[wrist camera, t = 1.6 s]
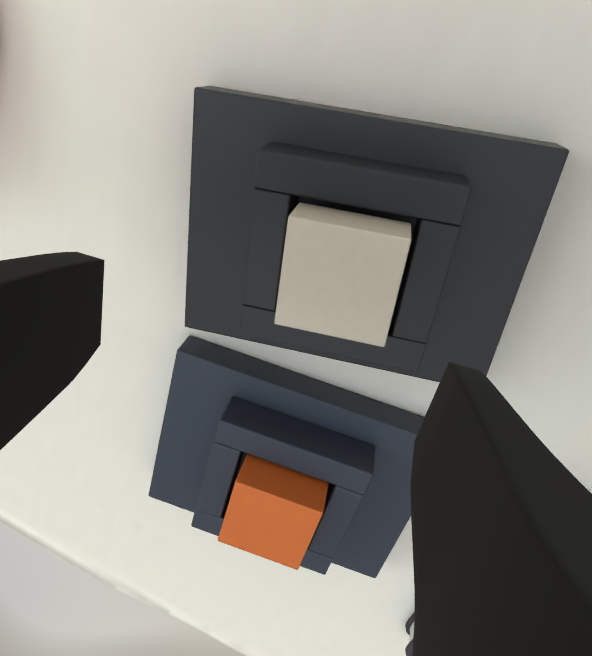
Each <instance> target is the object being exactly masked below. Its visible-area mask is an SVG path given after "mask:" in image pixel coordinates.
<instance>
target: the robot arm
mask: <svg viewBox="0 0 592 656" xmlns="http://www.w3.org/2000/svg"><path fill="white" fill-rule="evenodd" d="M103 278H104V260H102V259H99V258H95V257H92V256H89V255H85V254H82V253H78V252H61V253H51V254H42V255H35V256H28V257H22V258H15V259H9V260H2V261H0V450H1V449H2V448H3V447H4V446H5V445H6V444H7V443H8V442H9V441H10V440H11V439H12V438H14V437H15V436H16V435H17V434H18V433H19V432H20V431H21V430H22V429H23V428H24V427H25V426H26V425H27V424H28V423H29V422H30V421H31V420H32V419H33V418H34V417H36V416H37V415H38V414H39V413H40V412H41V411H42V410H43V409H44V408H45V407H46V406H47V405H48V404H49V403H50V402H51V401H52V400H53V399H54V398H55V397H56V396H57V395H58V394H59V393H60V392H61V391H63V390H64V389H65V388H66V387H67V386H68V385H69V384H70V383H71V382H72V381H73V380H74V378H75V377H76V376H77V375H78V373H79V372H80V371H81V370H82V368H83V367H84V366H85V365H86V363H87V362H88V361H89V359H90V358H91V357H92V355H93V354H94V352H95V351H96V350H97V348H98V347H99V346H100V341H101V320H102V299H103ZM410 491H411V518H412V540H413V562H414V584H415V618H414V635H413V651H412V656H592V494H591V493H590V492H589V491H588V490H587V489H586V488H585V487H584V486H583V485H582V484H581V483H580V482H579V481H578V480H577V479H576V478H575V477H574V476H573V475H572V474H571V473H570V472H569V471H568V470H567V469H566V468H565V466H564V465H563V464H562V463H561V462H560V461H559V460H558V459H557V458H556V457H555V456H554V455H553V454H552V453H551V452H550V451H549V449H548V448H547V447H546V446H545V445H544V444H543V443H542V442H541V441H540V439H539V438H538V437H537V436H536V435H535V434H534V433H533V431H532V430H531V429H530V428H529V427H528V426H527V424H526V423H525V422H524V421H523V420H522V419H521V417H520V416H519V415H518V414H517V413H516V411H515V410H514V409H513V408H512V407H511V405H510V404H509V403H508V402H507V400H506V399H505V398H504V397H503V396H502V394H501V393H500V392H499V391H498V390H497V389H496V387H495V386H494V385H493V384H492V383H491V382H490V380H489V379H488V378H487V377H486V376H485V375H484V374H483V373H482V372H481V371H479V370H476V369H473V368H469V367H466V366H462V365H459V364H456V363H452V362H449V363H448V365H447V368H446V370H445V372H444V374H443V377H442V379H441V381H440V384H439V386H438V388H437V390H436V393H435V395H434V397H433V400H432V402H431V404H430V407H429V409H428V411H427V413H426V416H425V418H424V420H423V423H422V425H421V427H420V429H419V432H418V434H417V436H416V439H415V442H414V451H413V460H412V470H411V482H410Z"/></svg>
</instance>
